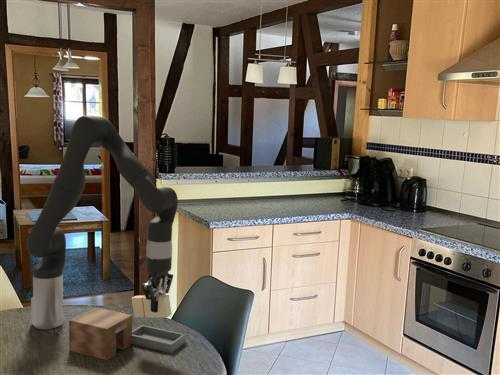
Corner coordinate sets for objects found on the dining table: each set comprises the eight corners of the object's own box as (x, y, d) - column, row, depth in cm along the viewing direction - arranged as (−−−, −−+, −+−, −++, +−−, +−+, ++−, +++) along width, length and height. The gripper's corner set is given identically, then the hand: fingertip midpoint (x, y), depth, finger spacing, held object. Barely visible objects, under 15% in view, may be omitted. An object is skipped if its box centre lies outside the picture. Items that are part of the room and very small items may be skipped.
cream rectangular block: (134, 317, 149) (131, 297, 149) (139, 314, 152) (136, 295, 151) (166, 317, 144) (164, 297, 144) (171, 314, 147) (168, 294, 146)
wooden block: (69, 350, 147) (69, 320, 146) (95, 335, 158) (95, 307, 157) (108, 360, 142) (108, 329, 141) (133, 344, 153) (133, 315, 152)
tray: (126, 342, 154) (126, 334, 154) (142, 332, 162) (142, 324, 162) (171, 353, 148) (171, 344, 148) (185, 342, 156) (185, 334, 155)
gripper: (161, 247, 153) (159, 300, 155) (134, 257, 140) (132, 315, 142) (182, 251, 150) (179, 305, 152) (156, 261, 137) (154, 320, 139)
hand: (157, 310), depth 147 cm, fingers closed on cream rectangular block, 2 cm apart
